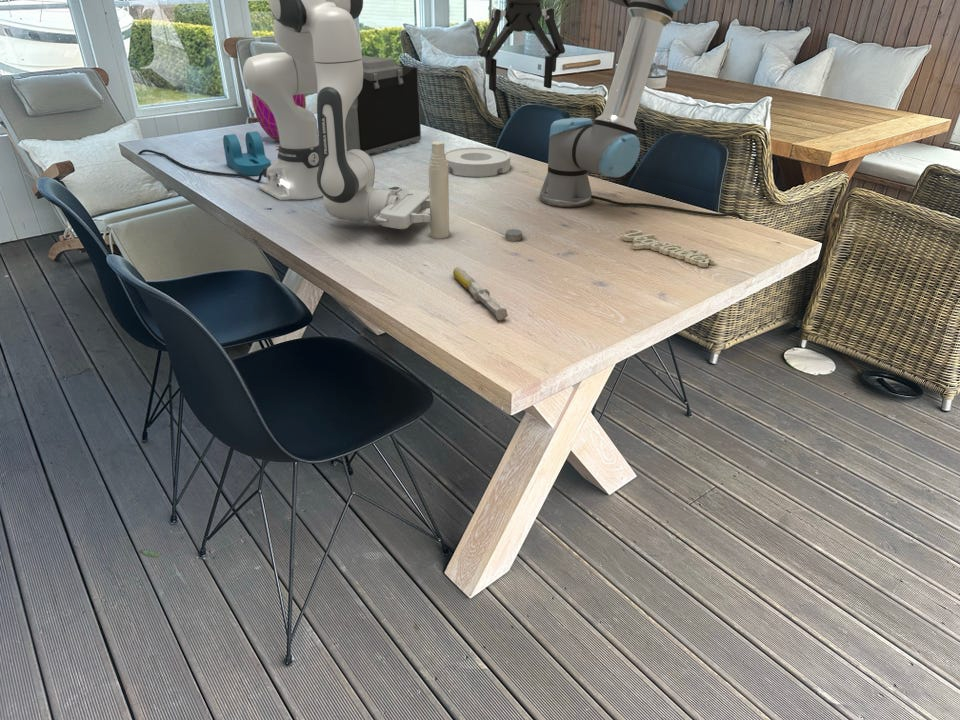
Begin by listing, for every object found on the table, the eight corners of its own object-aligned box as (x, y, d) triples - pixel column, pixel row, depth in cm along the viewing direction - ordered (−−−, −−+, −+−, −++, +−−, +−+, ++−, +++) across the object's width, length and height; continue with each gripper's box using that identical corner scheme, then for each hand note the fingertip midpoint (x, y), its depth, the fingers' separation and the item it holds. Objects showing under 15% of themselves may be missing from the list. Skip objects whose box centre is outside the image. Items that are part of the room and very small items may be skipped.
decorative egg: (293, 132, 276) (283, 50, 261) (319, 140, 264) (310, 56, 249) (249, 139, 265) (236, 54, 250) (273, 148, 253) (261, 60, 238)
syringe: (449, 274, 155) (449, 263, 153) (465, 272, 156) (464, 260, 154) (490, 323, 135) (491, 310, 133) (508, 319, 136) (508, 307, 134)
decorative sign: (608, 236, 174) (633, 227, 180) (608, 240, 175) (632, 231, 180) (698, 267, 157) (722, 256, 163) (698, 271, 158) (721, 260, 163)
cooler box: (383, 133, 276) (378, 52, 261) (425, 141, 265) (422, 56, 250) (314, 150, 251) (304, 61, 235) (358, 160, 240) (350, 67, 224)
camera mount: (227, 164, 233) (221, 132, 227) (257, 160, 238) (252, 129, 233) (244, 176, 220) (239, 143, 215) (276, 172, 225) (271, 139, 220)
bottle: (427, 234, 177) (424, 141, 166) (442, 230, 180) (441, 139, 168) (436, 239, 174) (434, 145, 162) (452, 236, 176) (451, 143, 165)
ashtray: (444, 158, 243) (444, 146, 241) (509, 159, 243) (510, 147, 241) (439, 176, 224) (438, 163, 222) (510, 177, 223) (510, 165, 221)
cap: (524, 240, 174) (524, 234, 173) (508, 241, 173) (508, 235, 172) (519, 234, 178) (519, 228, 177) (503, 236, 177) (503, 229, 176)
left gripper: (369, 207, 167) (423, 212, 164) (398, 184, 184) (447, 188, 181) (370, 232, 170) (423, 237, 167) (399, 207, 187) (448, 211, 184)
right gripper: (569, -18, 153) (562, 83, 164) (463, -18, 146) (463, 88, 157) (584, -17, 147) (576, 88, 158) (474, -17, 140) (473, 94, 151)
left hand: (436, 212), depth 174 cm, fingers open, 8 cm apart
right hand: (520, 88), depth 157 cm, fingers open, 13 cm apart
